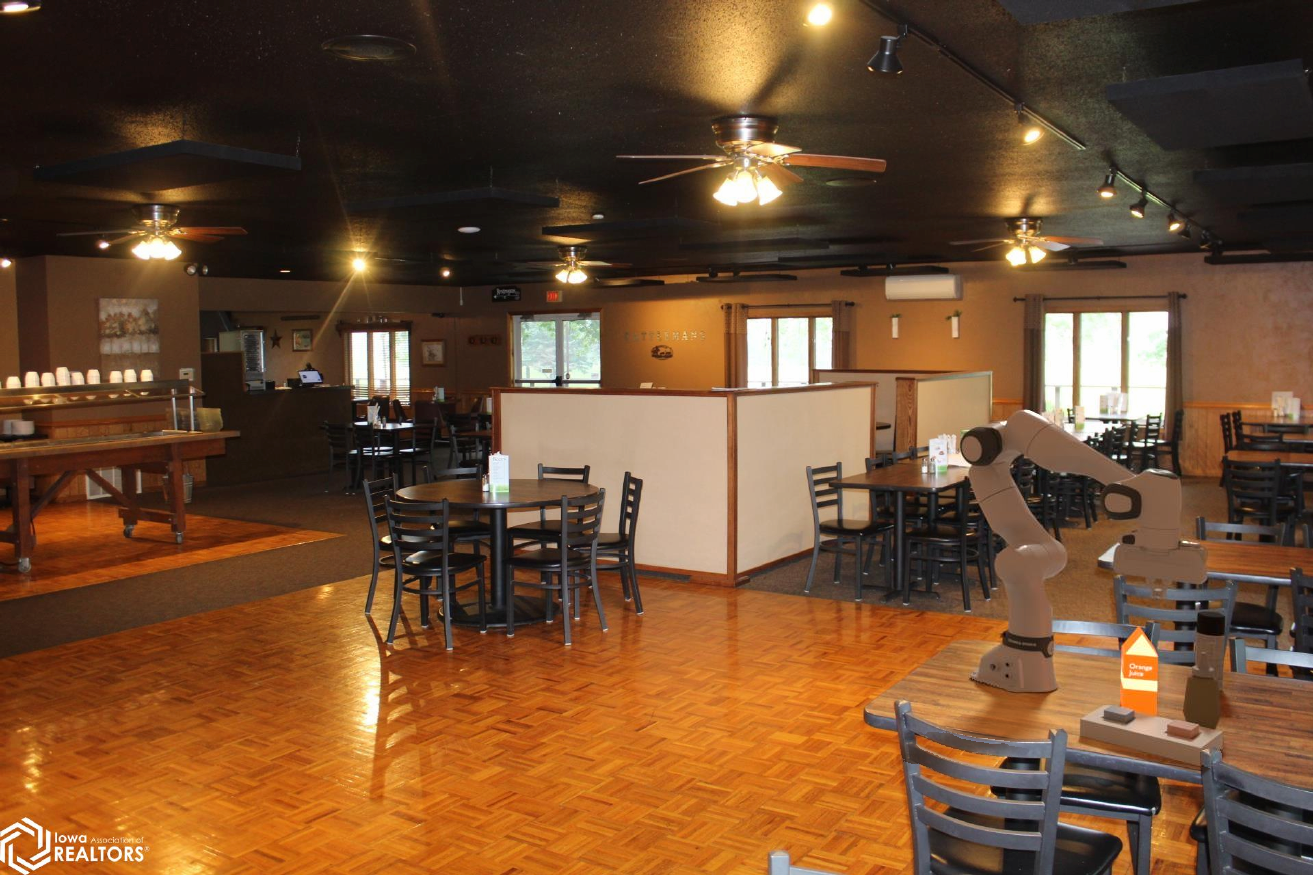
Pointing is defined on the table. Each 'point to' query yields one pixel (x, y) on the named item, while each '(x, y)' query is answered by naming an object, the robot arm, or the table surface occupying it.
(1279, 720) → the table surface
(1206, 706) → the squeeze bottle
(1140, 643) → the orange juice
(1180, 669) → the table surface
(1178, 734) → the terracotta key
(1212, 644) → the spray can
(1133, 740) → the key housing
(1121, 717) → the slate key
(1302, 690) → the table surface
